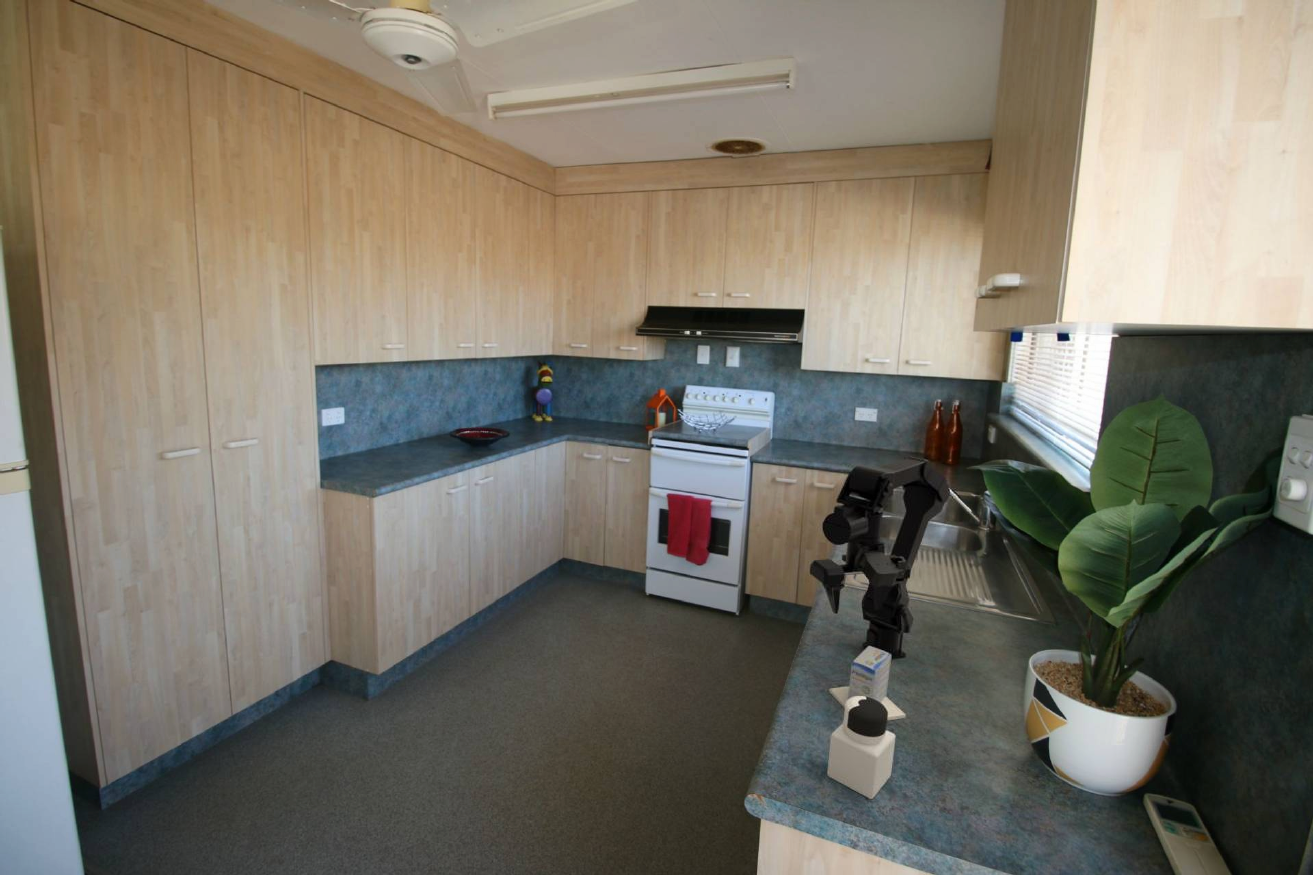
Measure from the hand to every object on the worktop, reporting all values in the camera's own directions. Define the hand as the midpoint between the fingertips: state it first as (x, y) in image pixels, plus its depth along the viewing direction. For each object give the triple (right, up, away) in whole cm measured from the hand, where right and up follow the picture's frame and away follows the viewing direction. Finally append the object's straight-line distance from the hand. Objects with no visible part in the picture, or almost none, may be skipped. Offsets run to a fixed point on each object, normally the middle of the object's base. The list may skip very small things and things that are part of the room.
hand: (856, 611), depth 122 cm
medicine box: (-1, -14, -8) cm, 16 cm away
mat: (-1, -15, -8) cm, 17 cm away
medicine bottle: (-8, -18, -26) cm, 33 cm away
